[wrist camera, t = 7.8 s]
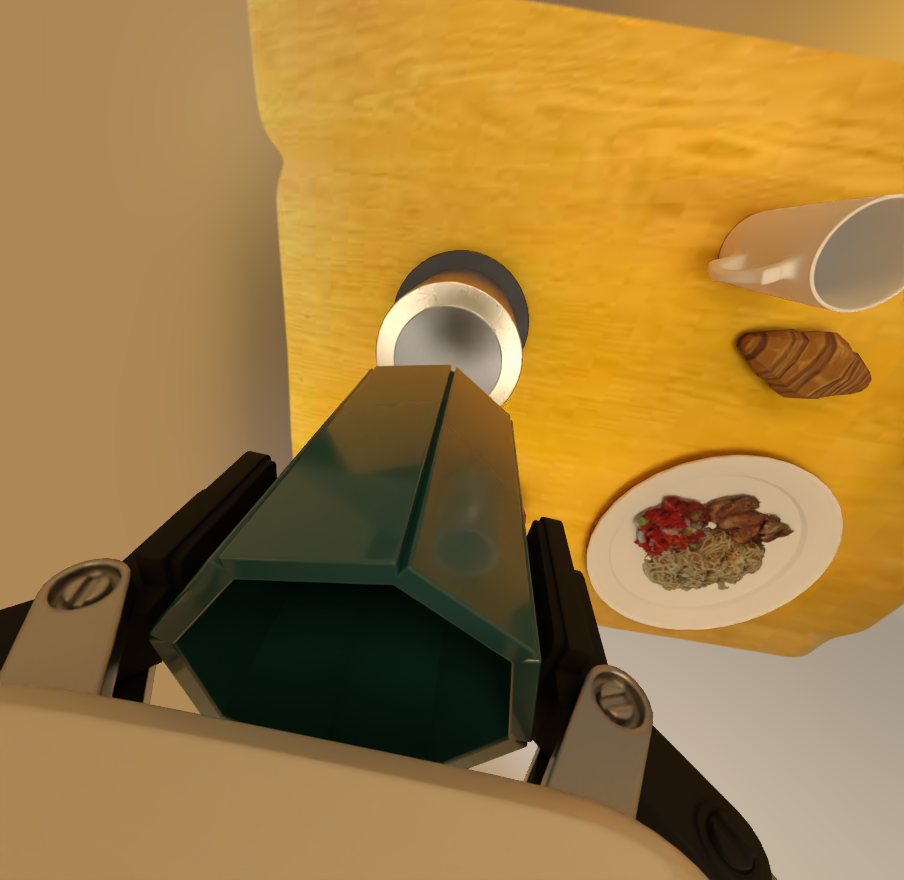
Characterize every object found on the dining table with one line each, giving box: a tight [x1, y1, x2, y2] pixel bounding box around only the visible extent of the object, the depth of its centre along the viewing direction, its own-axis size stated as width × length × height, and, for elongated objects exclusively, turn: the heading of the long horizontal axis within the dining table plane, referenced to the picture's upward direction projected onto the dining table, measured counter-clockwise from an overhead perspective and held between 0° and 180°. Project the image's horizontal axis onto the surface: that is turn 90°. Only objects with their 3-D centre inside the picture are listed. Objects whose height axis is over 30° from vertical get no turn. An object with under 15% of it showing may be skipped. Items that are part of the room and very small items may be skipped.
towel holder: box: [376, 250, 529, 407], centre depth 34 cm, size 14×14×14 cm
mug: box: [707, 194, 904, 312], centre depth 29 cm, size 10×7×12 cm, turn 104°
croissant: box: [737, 329, 871, 399], centre depth 36 cm, size 14×7×5 cm, turn 72°
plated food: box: [586, 455, 843, 630], centre depth 49 cm, size 30×30×3 cm
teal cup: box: [149, 365, 542, 769], centre depth 11 cm, size 7×7×9 cm
